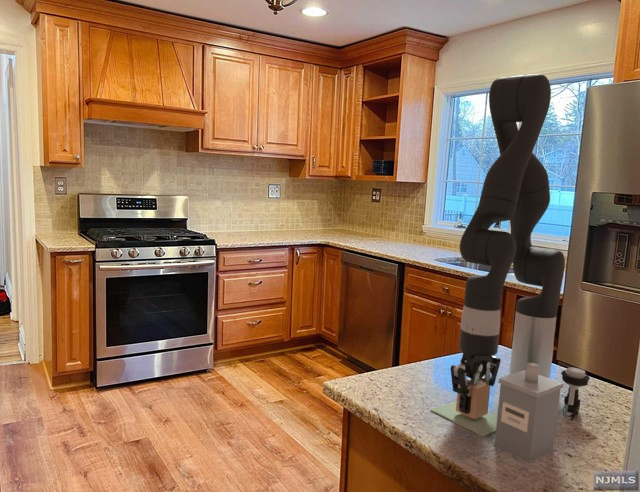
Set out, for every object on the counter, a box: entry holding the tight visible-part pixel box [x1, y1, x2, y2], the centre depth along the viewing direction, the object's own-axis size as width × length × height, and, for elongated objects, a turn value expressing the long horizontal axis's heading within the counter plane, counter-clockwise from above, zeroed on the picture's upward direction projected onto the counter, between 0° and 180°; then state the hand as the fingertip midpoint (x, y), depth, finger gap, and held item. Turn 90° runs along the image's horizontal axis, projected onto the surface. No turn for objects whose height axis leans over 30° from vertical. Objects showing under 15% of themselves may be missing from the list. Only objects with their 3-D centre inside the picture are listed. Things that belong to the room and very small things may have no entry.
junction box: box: [493, 363, 565, 463], centre depth 95 cm, size 9×8×16 cm
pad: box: [430, 400, 498, 438], centre depth 107 cm, size 10×13×1 cm
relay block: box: [456, 377, 491, 419], centre depth 106 cm, size 4×4×8 cm
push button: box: [560, 366, 591, 421], centre depth 109 cm, size 7×5×10 cm
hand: (472, 408), depth 107 cm, fingers closed on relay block, 4 cm apart
